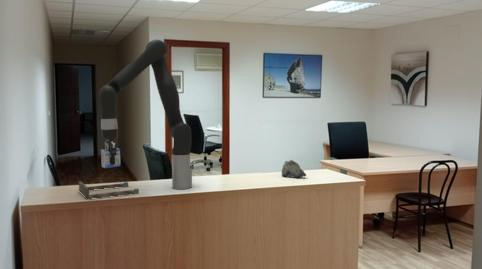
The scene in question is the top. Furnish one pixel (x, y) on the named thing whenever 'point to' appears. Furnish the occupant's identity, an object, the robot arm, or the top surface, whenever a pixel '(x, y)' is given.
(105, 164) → the medicine box
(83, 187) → the bay
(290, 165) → the mineral rock
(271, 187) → the top surface
